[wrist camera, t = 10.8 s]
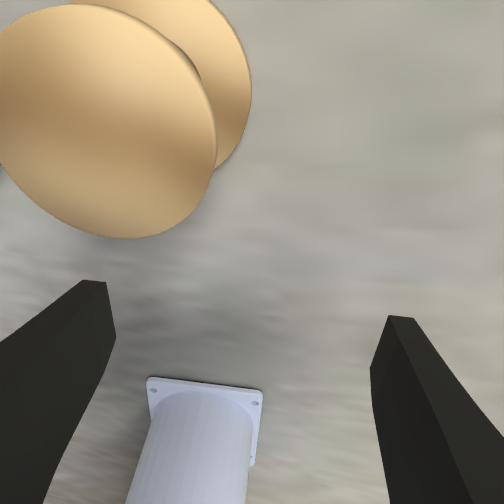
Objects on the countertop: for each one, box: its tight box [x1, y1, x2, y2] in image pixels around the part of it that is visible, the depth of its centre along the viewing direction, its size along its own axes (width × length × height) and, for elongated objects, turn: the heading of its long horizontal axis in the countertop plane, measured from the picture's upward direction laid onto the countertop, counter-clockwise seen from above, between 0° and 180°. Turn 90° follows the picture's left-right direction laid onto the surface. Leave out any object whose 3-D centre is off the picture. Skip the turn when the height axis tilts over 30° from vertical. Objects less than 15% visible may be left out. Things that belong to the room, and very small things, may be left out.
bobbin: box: [0, 0, 252, 239], centre depth 15 cm, size 8×8×6 cm
